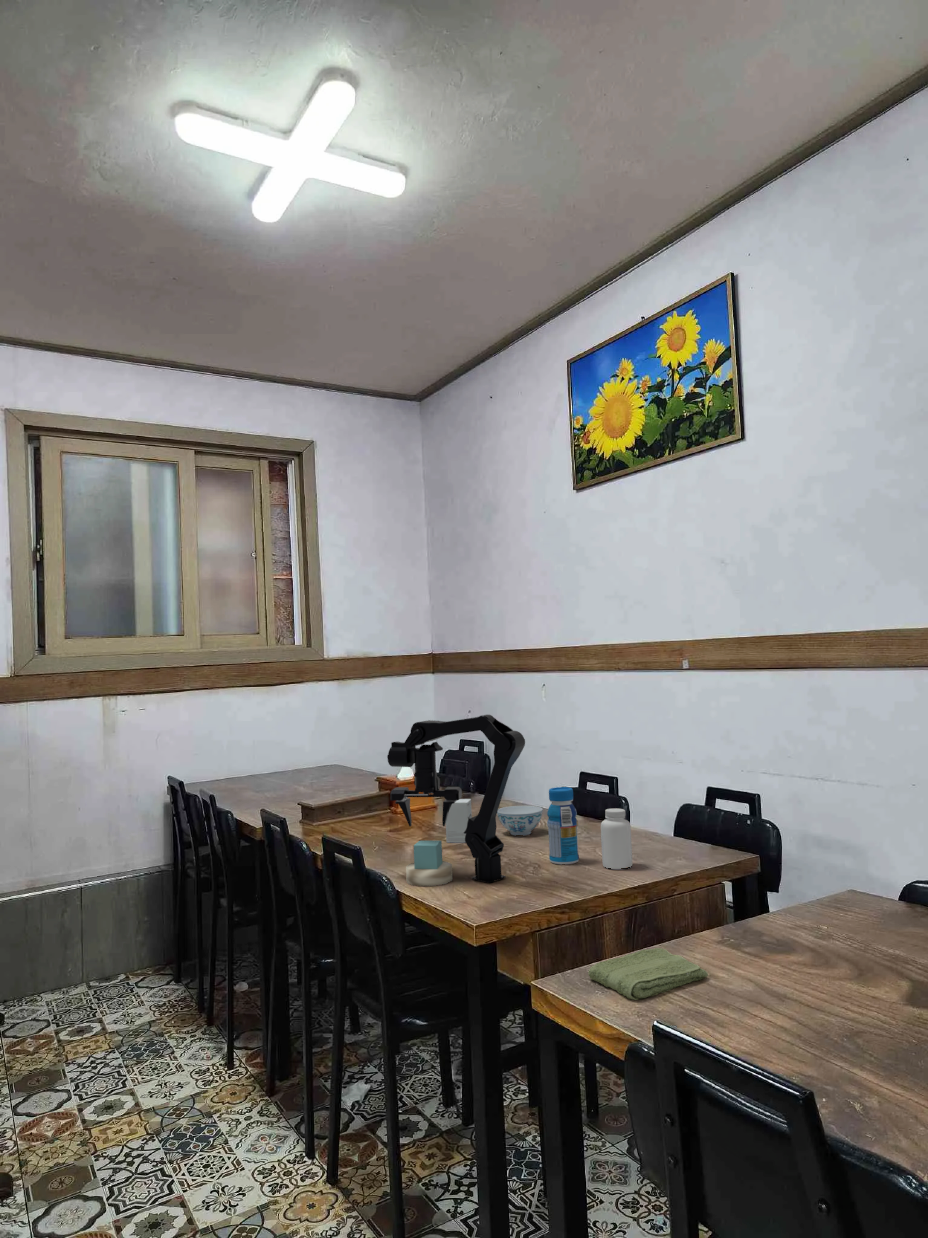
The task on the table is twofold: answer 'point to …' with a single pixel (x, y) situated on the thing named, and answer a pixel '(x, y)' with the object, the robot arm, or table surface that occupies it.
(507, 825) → the chinaware
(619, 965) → the washcloth
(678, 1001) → the table surface
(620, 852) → the pill bottle
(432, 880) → the birch riser
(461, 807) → the supplement box
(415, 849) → the teal block
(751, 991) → the table surface
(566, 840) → the beverage bottle
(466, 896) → the table surface
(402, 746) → the robot arm
